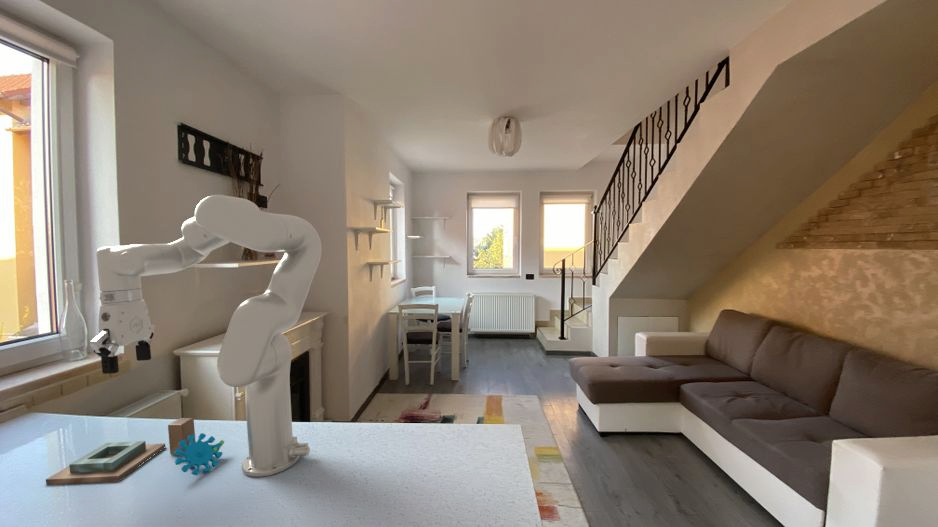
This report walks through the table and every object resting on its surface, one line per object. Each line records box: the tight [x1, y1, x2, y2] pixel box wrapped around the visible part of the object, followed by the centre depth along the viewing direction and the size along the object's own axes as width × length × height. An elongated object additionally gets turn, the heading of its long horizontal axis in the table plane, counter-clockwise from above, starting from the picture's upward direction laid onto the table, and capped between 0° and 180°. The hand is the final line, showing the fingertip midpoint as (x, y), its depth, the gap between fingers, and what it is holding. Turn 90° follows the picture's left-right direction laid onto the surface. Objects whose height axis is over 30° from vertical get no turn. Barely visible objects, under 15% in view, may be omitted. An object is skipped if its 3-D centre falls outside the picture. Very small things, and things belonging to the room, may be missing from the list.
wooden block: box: [167, 417, 197, 455], centre depth 99 cm, size 4×4×8 cm
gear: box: [173, 432, 225, 476], centre depth 92 cm, size 11×6×10 cm
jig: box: [45, 440, 166, 485], centre depth 94 cm, size 16×14×3 cm
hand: (128, 366), depth 94 cm, fingers open, 9 cm apart
